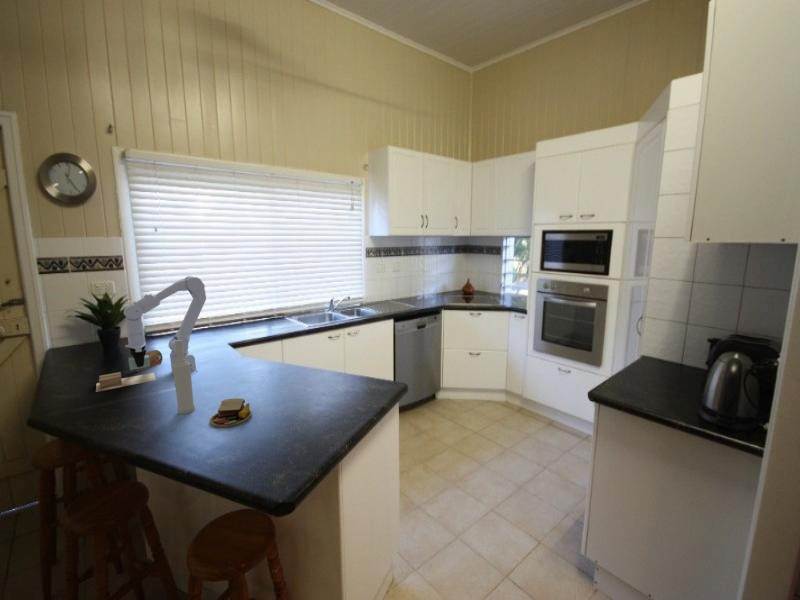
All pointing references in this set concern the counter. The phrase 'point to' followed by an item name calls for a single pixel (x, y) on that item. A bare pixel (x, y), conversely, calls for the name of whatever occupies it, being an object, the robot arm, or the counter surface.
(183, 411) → the bottle
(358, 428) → the counter surface
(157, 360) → the tin
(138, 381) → the birch board
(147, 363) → the teal brick
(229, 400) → the toy sandwich meal
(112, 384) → the walnut block
